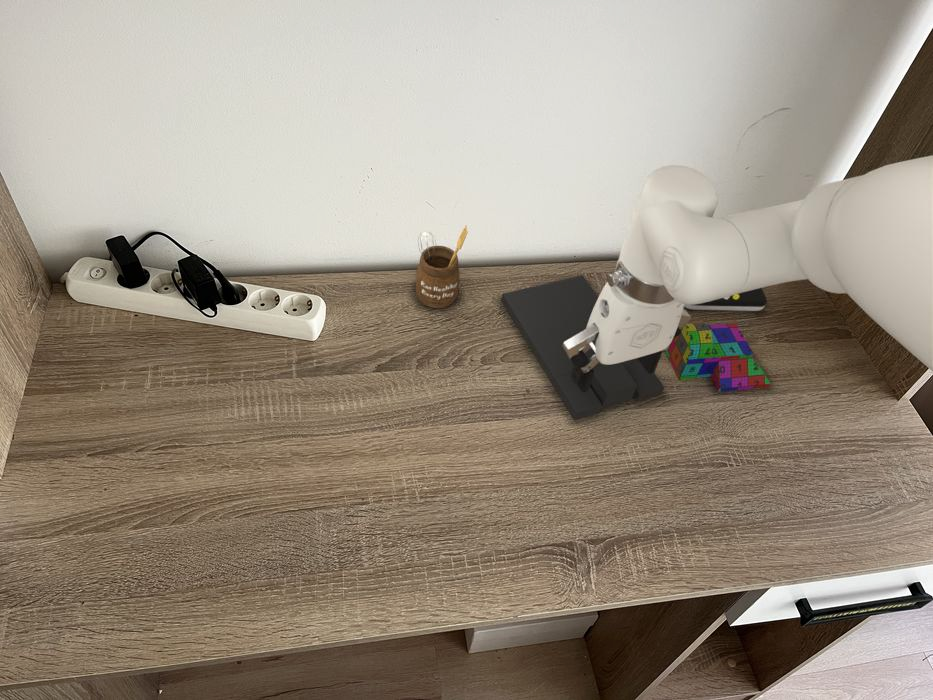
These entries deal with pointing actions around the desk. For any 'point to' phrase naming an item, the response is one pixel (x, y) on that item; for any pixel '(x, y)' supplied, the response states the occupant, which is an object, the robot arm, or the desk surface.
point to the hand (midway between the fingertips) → (612, 374)
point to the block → (716, 356)
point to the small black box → (612, 384)
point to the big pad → (552, 323)
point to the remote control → (735, 302)
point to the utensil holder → (438, 274)
